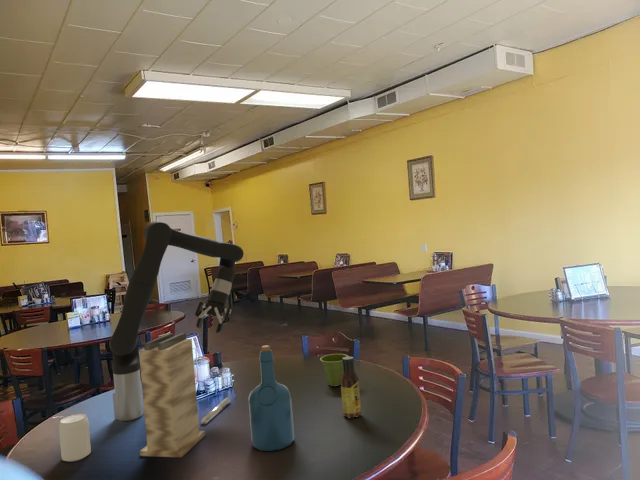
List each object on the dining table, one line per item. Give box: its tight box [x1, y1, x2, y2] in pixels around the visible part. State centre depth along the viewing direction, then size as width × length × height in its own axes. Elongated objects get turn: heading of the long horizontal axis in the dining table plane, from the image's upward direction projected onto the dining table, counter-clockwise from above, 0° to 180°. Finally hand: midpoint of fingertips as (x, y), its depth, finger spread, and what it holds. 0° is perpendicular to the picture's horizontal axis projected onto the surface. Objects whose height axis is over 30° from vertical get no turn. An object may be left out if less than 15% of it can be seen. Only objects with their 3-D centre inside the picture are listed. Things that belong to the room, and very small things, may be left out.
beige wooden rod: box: [200, 397, 232, 425], centre depth 173 cm, size 20×2×2 cm
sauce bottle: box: [340, 356, 362, 418], centre depth 161 cm, size 6×6×20 cm
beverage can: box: [58, 413, 92, 463], centre depth 146 cm, size 8×8×12 cm
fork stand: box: [139, 332, 206, 458], centre depth 148 cm, size 14×15×34 cm
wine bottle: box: [248, 344, 295, 452], centre depth 144 cm, size 14×13×30 cm
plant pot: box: [319, 353, 350, 386], centre depth 195 cm, size 12×12×11 cm
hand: (208, 330), depth 187 cm, fingers open, 8 cm apart
